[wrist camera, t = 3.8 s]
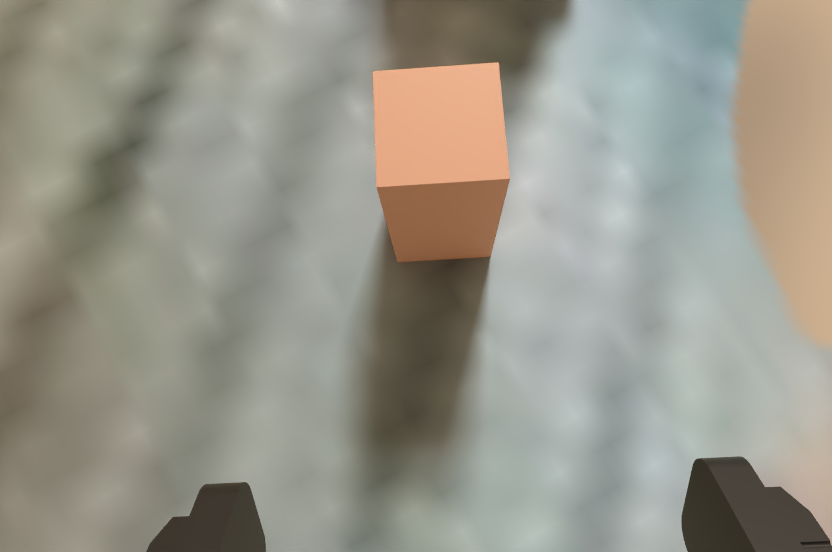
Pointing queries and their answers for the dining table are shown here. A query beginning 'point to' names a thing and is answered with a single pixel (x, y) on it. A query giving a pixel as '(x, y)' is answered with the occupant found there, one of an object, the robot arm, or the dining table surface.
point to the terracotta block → (441, 159)
